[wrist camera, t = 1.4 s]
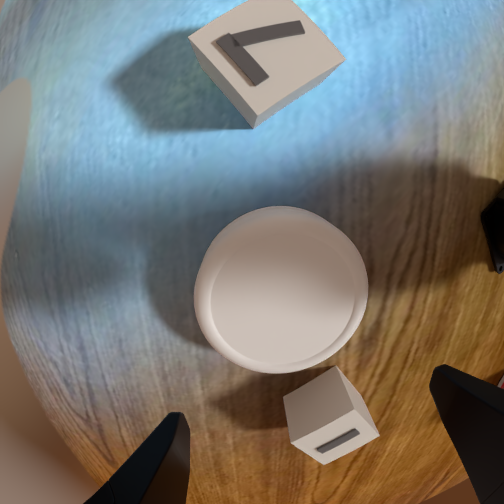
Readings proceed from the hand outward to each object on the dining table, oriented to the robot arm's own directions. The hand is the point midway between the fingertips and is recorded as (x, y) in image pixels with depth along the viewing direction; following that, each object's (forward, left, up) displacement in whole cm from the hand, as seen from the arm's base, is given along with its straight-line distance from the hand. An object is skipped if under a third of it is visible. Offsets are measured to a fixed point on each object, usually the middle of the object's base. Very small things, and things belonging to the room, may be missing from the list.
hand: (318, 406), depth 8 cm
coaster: (0, 0, -12) cm, 12 cm away
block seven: (+11, -7, -11) cm, 17 cm away
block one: (-11, +3, -11) cm, 16 cm away
